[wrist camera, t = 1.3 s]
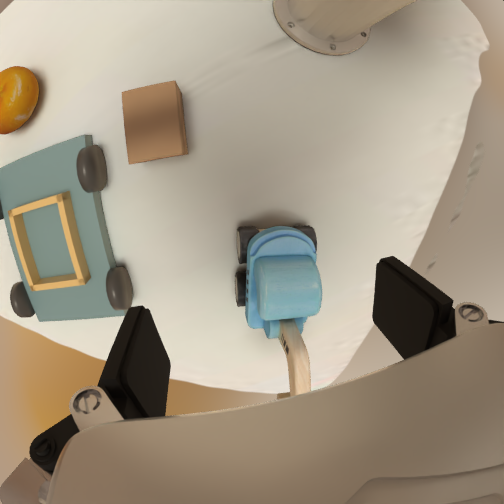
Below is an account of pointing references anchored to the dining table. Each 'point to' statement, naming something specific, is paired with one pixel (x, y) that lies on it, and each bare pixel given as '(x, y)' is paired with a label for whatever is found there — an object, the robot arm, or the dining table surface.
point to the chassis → (62, 235)
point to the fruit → (16, 97)
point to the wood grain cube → (154, 122)
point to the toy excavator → (281, 290)
